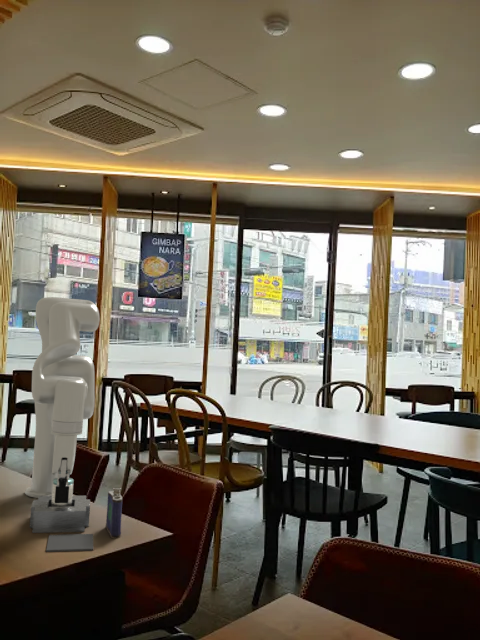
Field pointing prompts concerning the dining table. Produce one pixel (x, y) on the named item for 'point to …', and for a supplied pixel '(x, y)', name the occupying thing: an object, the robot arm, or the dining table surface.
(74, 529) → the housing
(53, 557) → the dining table surface
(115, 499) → the flask
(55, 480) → the light piece
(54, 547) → the mat
